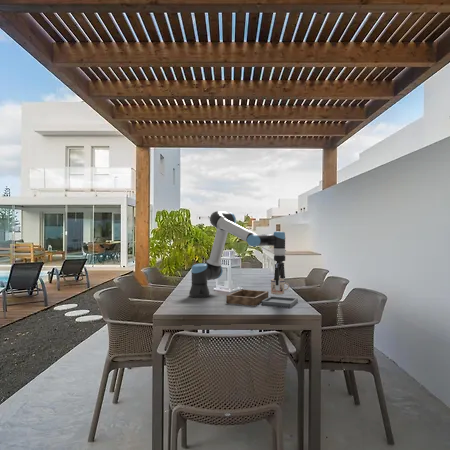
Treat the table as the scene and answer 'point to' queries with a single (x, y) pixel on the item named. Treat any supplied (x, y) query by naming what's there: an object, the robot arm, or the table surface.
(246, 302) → the crate
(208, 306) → the table surface
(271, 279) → the teacup with lid
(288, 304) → the tray
